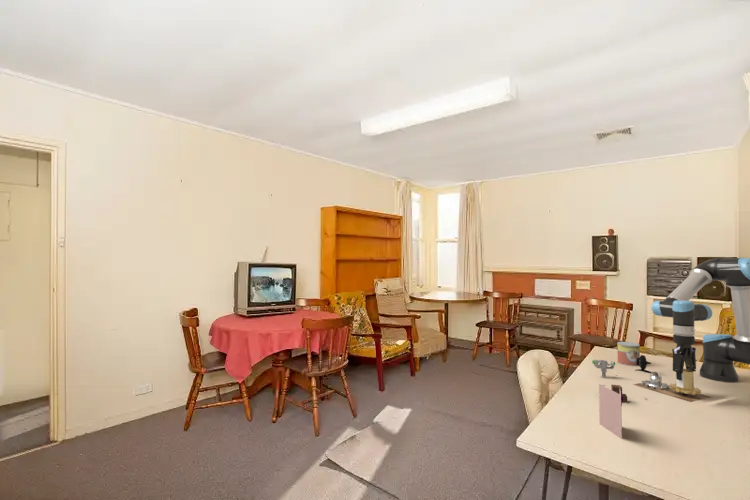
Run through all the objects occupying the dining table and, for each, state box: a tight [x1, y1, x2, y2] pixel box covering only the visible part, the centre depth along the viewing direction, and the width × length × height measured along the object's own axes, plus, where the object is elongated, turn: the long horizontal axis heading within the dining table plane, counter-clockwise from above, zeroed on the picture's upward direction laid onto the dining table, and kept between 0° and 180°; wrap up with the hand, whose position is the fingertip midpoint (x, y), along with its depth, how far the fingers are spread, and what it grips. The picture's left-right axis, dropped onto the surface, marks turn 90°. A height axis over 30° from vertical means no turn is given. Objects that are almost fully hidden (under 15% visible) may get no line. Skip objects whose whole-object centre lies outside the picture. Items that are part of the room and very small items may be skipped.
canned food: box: [616, 341, 641, 367], centre depth 221 cm, size 11×11×12 cm
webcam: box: [634, 354, 653, 375], centre depth 202 cm, size 8×8×10 cm
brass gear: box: [668, 368, 702, 395], centre depth 165 cm, size 11×11×9 cm
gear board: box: [632, 371, 711, 403], centre depth 170 cm, size 16×24×8 cm, turn 23°
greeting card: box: [598, 383, 624, 439], centre depth 132 cm, size 11×7×15 cm, turn 148°
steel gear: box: [641, 374, 671, 390], centre depth 176 cm, size 11×11×5 cm
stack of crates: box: [610, 384, 628, 404], centre depth 162 cm, size 15×15×7 cm
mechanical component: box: [592, 359, 616, 379], centre depth 189 cm, size 3×10×10 cm, turn 79°
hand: (684, 386), depth 164 cm, fingers closed on brass gear, 6 cm apart
